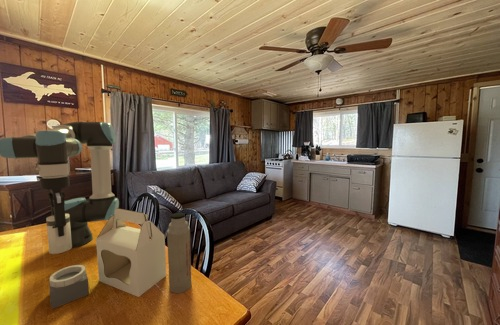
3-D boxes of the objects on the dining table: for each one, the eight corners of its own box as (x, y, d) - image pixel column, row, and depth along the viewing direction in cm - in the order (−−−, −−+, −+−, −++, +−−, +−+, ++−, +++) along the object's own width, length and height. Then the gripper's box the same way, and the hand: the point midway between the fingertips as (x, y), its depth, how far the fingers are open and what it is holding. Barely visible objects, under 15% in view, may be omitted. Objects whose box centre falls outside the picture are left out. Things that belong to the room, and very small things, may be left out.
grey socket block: (51, 293, 77) (48, 272, 76) (85, 280, 84) (84, 261, 83) (51, 309, 70) (48, 286, 69) (89, 294, 77) (87, 273, 76)
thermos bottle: (195, 280, 84) (193, 211, 82) (185, 294, 77) (182, 219, 74) (176, 277, 86) (174, 210, 83) (165, 291, 78) (161, 217, 75)
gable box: (167, 275, 87) (164, 209, 84) (139, 297, 75) (134, 220, 72) (129, 263, 96) (125, 202, 93) (98, 281, 84) (93, 212, 81)
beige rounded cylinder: (70, 243, 80) (68, 212, 79) (73, 249, 76) (70, 216, 74) (48, 249, 75) (45, 216, 74) (50, 255, 71) (46, 220, 70)
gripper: (37, 174, 77) (43, 237, 79) (41, 181, 64) (48, 255, 66) (65, 172, 82) (69, 231, 84) (73, 178, 69) (79, 246, 71)
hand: (60, 241), depth 75 cm, fingers closed on beige rounded cylinder, 6 cm apart
